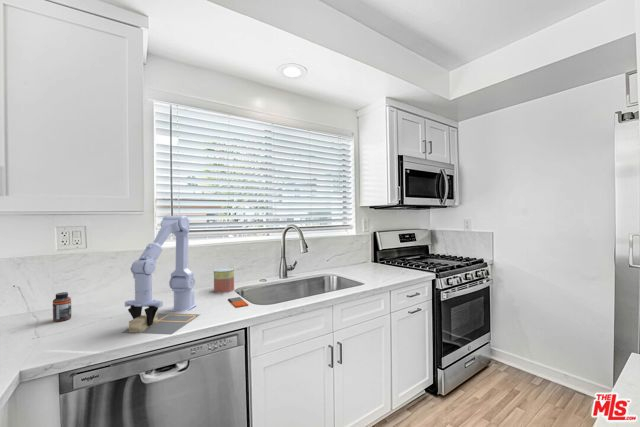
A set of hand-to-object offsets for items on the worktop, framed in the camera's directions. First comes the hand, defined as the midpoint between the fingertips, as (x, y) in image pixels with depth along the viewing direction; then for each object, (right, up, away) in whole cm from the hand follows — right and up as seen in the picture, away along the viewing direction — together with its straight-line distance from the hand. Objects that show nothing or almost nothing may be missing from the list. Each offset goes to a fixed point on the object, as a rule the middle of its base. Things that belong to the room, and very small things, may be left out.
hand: (143, 325), depth 116 cm
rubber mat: (+5, -1, +4) cm, 7 cm away
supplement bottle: (-41, -2, +11) cm, 42 cm away
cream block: (0, -1, 0) cm, 1 cm away
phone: (+28, -2, +32) cm, 42 cm away
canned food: (+13, -1, +56) cm, 57 cm away
